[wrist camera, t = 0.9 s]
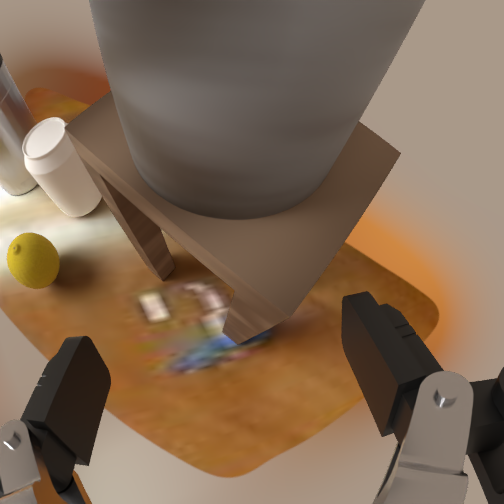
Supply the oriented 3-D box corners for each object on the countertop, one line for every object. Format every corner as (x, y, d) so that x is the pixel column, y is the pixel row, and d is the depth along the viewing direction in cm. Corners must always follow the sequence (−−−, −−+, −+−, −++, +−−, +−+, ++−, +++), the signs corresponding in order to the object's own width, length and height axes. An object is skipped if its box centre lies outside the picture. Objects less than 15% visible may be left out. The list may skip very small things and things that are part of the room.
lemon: (66, 243, 31) (35, 213, 24) (73, 288, 30) (38, 267, 22) (30, 257, 30) (-6, 231, 22) (35, 301, 28) (-4, 283, 21)
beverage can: (53, 205, 32) (7, 150, 21) (83, 168, 34) (49, 105, 23) (83, 229, 32) (37, 174, 21) (115, 188, 34) (84, 123, 23)
